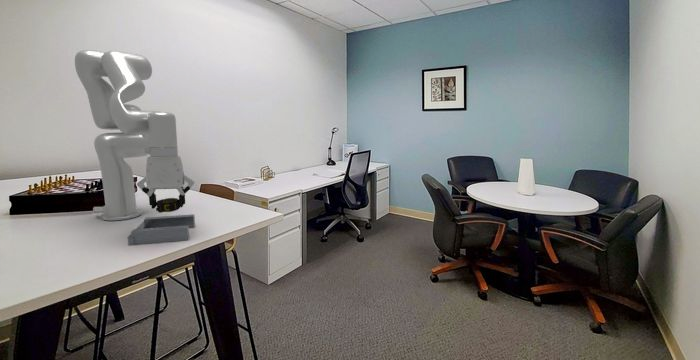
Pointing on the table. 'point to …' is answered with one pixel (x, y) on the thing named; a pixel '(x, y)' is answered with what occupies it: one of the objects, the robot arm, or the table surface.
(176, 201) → the tape measure
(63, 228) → the table surface
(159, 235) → the c-clamp
